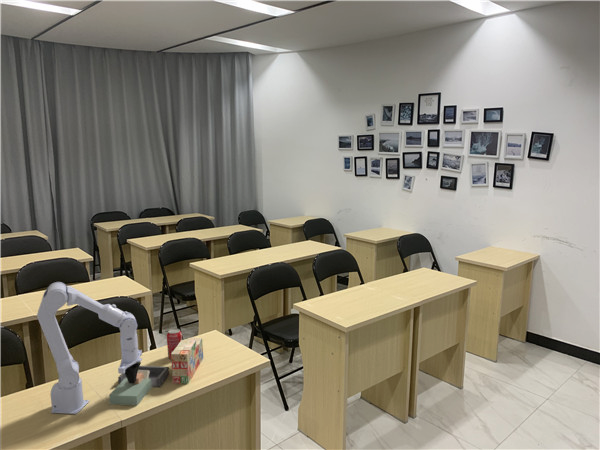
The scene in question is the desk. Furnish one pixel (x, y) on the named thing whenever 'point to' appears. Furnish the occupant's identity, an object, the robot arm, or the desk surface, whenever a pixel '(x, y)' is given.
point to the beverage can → (173, 340)
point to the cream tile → (144, 373)
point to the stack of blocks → (186, 359)
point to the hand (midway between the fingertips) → (132, 382)
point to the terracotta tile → (139, 378)
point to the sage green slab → (130, 392)
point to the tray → (152, 375)
